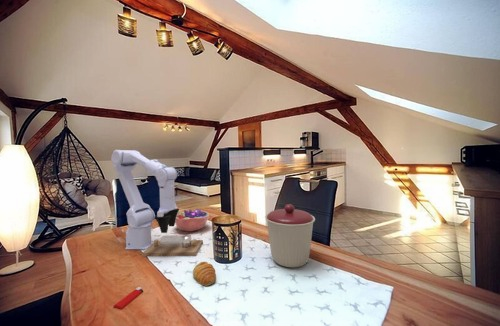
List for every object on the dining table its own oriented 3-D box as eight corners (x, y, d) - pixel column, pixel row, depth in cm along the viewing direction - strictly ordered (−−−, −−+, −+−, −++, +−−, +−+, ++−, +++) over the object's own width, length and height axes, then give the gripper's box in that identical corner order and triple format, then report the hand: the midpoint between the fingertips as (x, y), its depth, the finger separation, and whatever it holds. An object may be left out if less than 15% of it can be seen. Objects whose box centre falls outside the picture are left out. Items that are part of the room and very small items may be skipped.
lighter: (113, 304, 54) (137, 286, 62) (113, 309, 54) (137, 290, 62) (121, 306, 54) (145, 287, 61) (121, 311, 54) (145, 292, 61)
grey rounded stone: (159, 248, 86) (159, 238, 86) (164, 244, 90) (163, 234, 90) (189, 247, 86) (189, 238, 86) (192, 243, 90) (192, 234, 90)
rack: (142, 256, 82) (142, 246, 82) (156, 243, 94) (156, 234, 94) (195, 256, 82) (195, 246, 82) (202, 243, 94) (202, 234, 94)
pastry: (221, 282, 65) (221, 270, 65) (200, 290, 61) (199, 278, 61) (210, 269, 73) (210, 258, 73) (191, 275, 69) (190, 264, 69)
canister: (314, 278, 66) (314, 212, 65) (259, 269, 72) (259, 208, 71) (315, 253, 83) (315, 200, 82) (271, 247, 89) (271, 198, 88)
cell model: (180, 224, 122) (180, 205, 121) (213, 224, 119) (213, 205, 119) (166, 235, 105) (165, 212, 104) (204, 236, 103) (203, 213, 102)
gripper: (170, 200, 78) (170, 235, 79) (182, 193, 93) (183, 223, 93) (151, 200, 78) (152, 235, 79) (167, 193, 93) (167, 223, 93)
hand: (168, 229), depth 86 cm, fingers open, 7 cm apart
